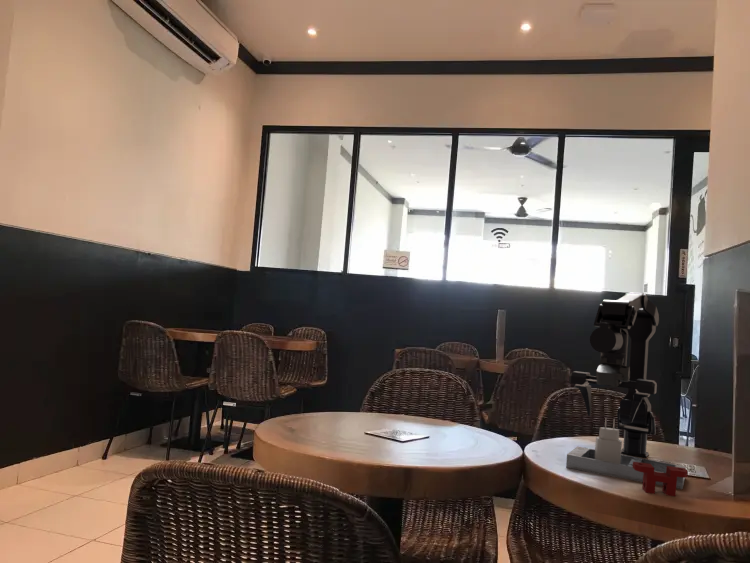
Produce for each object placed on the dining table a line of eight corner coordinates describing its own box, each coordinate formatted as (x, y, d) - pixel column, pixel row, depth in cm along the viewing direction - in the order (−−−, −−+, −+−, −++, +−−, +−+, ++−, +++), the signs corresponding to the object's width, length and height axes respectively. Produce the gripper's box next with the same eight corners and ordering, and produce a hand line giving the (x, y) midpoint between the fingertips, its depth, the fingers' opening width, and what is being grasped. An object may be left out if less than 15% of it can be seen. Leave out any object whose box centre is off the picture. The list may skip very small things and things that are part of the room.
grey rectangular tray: (576, 458, 145) (577, 446, 145) (684, 479, 133) (685, 466, 133) (566, 467, 135) (566, 454, 135) (682, 491, 123) (683, 476, 123)
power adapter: (593, 466, 138) (596, 416, 138) (617, 469, 137) (620, 418, 138) (596, 470, 135) (599, 418, 135) (620, 473, 134) (624, 420, 135)
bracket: (689, 472, 116) (636, 465, 118) (687, 500, 116) (634, 493, 118) (684, 468, 119) (632, 461, 121) (682, 495, 119) (630, 488, 121)
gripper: (566, 348, 135) (561, 416, 134) (654, 358, 126) (649, 430, 125) (576, 348, 145) (571, 411, 144) (658, 357, 135) (654, 424, 134)
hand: (609, 419), depth 136 cm, fingers open, 9 cm apart
